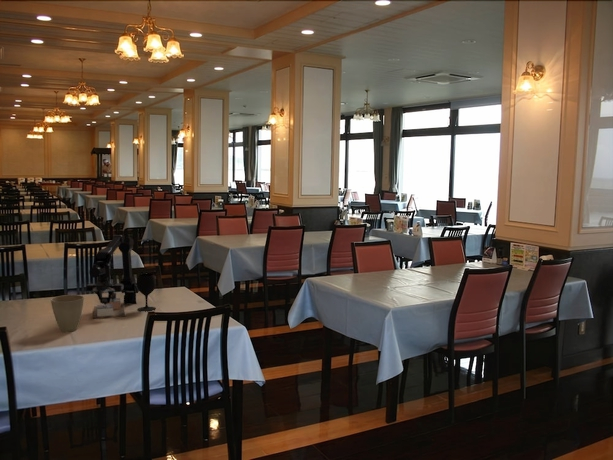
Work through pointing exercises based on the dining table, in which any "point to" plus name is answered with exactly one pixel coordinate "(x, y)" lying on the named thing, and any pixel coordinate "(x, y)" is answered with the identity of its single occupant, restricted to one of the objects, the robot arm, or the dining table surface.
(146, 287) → the wine glass
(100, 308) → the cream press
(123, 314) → the walnut board
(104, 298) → the black plunger
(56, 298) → the plant pot
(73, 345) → the dining table surface
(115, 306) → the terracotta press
